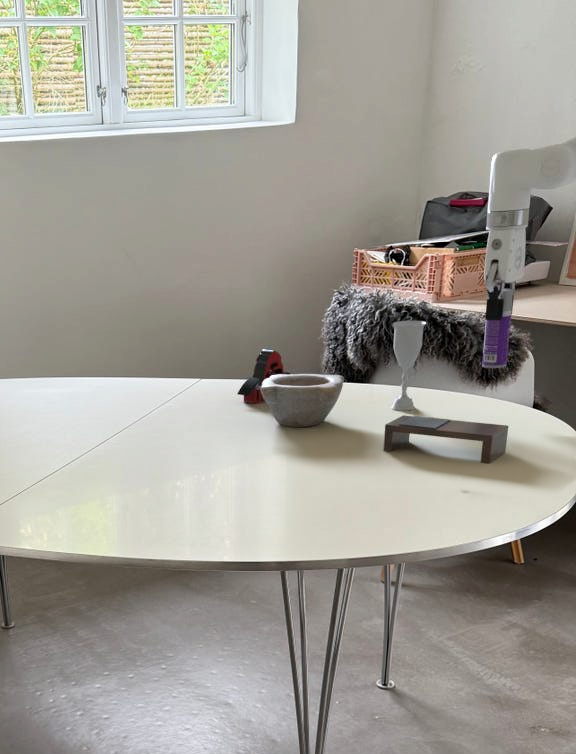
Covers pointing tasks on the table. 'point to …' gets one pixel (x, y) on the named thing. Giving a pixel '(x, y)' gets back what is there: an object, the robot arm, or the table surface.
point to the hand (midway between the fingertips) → (498, 316)
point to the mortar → (301, 397)
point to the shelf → (448, 433)
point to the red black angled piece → (261, 375)
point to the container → (498, 335)
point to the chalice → (406, 355)
